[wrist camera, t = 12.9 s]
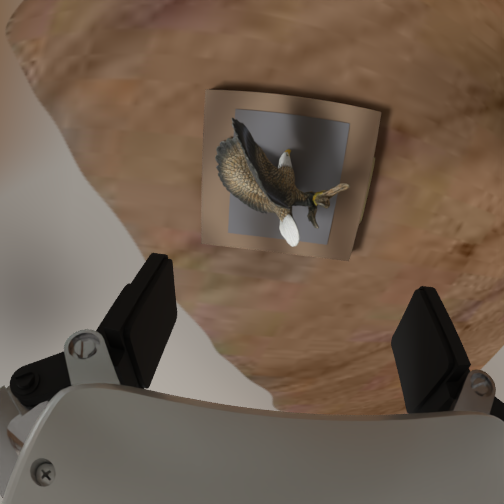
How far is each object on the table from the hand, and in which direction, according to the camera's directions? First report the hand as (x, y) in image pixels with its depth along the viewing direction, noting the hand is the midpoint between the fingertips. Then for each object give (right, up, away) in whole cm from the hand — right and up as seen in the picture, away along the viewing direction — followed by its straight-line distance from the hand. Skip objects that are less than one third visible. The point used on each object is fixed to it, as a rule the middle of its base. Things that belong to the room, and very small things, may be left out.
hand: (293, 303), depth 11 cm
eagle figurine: (0, +9, +13) cm, 16 cm away
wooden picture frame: (+1, +9, +15) cm, 17 cm away
